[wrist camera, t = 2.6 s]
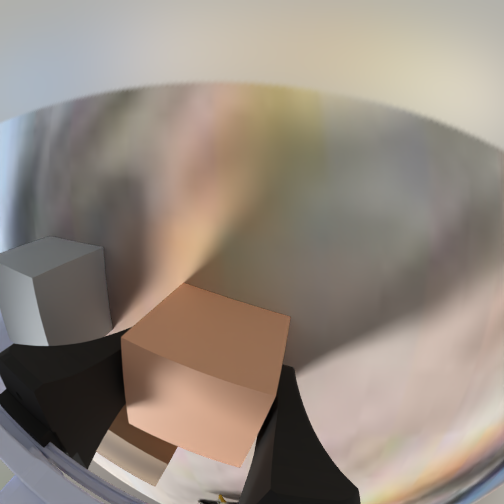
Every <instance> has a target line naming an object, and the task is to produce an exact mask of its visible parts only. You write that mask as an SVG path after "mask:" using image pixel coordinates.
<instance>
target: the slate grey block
mask: <svg viewBox="0 0 504 504" xmlns="http://www.w3.org/2000/svg"><path fill="white" fill-rule="evenodd" d="M0 310H1V314H2V317H3V320H4V324H5V327H6V330H7V333H8V336H9V339H10V340H11V341H12V342H14V343H15V344H23V345H33V346H58V345H68V344H76V343H82V342H87V341H91V340H95V339H99V338H102V337H104V336H105V335H107V334H108V333H109V332H110V331H111V330H113V328H112V322H111V315H110V308H109V300H108V292H107V283H106V272H105V260H104V247H101V246H96V245H91V244H86V243H81V242H76V241H71V240H66V239H62V238H57V237H52V236H49V237H46V238H42V239H39V240H36V241H33V242H30V243H28V244H25V245H22V246H19V247H16V248H13V249H10V250H8V251H5V252H2V253H0Z"/></svg>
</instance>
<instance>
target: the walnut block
mask: <svg viewBox="0 0 504 504" xmlns="http://www.w3.org/2000/svg"><path fill="white" fill-rule="evenodd" d="M177 447H178V446H176V445H173V444H171V443H169V442H166V441H164V440H162V439H160V438H158V437H155V436H153V435H151V434H149V433H147V432H145V431H143V430H141V429H139V428H137V427H135V426H133V425H131V424H129V421H128V414H127V406H126V404H125V405H124V406H123V408H122V409H121V410H120V412H119V414H118V415H117V417H116V418H115V420H114V421H113V423H112V424H111V426H110V428H109V429H108V431H107V433H106V434H105V436H104V438H103V440H102V442H101V443H100V445H99V447H98V449H97V451H96V452H98V453H99V454H100V455H102V456H103V457H105V458H106V459H108V460H109V461H111V462H112V463H114V464H116V465H117V466H119V467H120V468H122V469H124V470H125V471H127V472H129V473H131V474H132V475H134V476H136V477H138V478H139V479H141V480H143V481H145V482H147V483H149V484H151V485H153V486H156V484H157V483H158V481H159V479H160V478H161V476H162V474H163V472H164V471H165V469H166V467H167V465H168V463H169V462H170V460H171V458H172V456H173V454H174V452H175V451H176V449H177Z"/></svg>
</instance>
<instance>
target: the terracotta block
mask: <svg viewBox="0 0 504 504" xmlns="http://www.w3.org/2000/svg"><path fill="white" fill-rule="evenodd" d="M290 318H291V317H290V316H286V315H283V314H280V313H276V312H273V311H269V310H266V309H263V308H260V307H256V306H253V305H250V304H247V303H243V302H240V301H237V300H234V299H231V298H228V297H225V296H222V295H219V294H216V293H212V292H209V291H206V290H204V289H201V288H198V287H195V286H192V285H189V284H186V283H183V284H182V285H180V286H179V287H178V288H177V289H176V290H175V291H173V292H172V293H171V294H170V295H169V296H168V297H166V298H165V299H164V300H163V301H162V302H161V303H159V304H158V305H157V306H156V307H155V308H154V309H153V310H151V311H150V312H149V313H148V314H147V315H146V316H144V317H143V318H142V319H141V320H140V321H139V322H138V323H136V324H135V325H134V326H133V327H132V328H131V329H130V330H129V331H127V332H126V333H125V334H124V335H123V336H122V337H121V350H122V366H123V379H124V389H125V398H126V406H127V414H128V421H129V424H131V425H133V426H135V427H137V428H139V429H141V430H143V431H145V432H147V433H149V434H151V435H153V436H155V437H158V438H160V439H162V440H164V441H166V442H169V443H171V444H173V445H176V446H178V447H181V448H183V449H186V450H188V451H191V452H193V453H196V454H199V455H201V456H204V457H207V458H210V459H213V460H216V461H219V462H222V463H225V464H229V465H232V466H236V467H239V468H240V467H241V465H242V463H243V462H244V460H245V458H246V456H247V454H248V452H249V450H250V448H251V446H252V444H253V442H254V440H255V438H256V437H257V435H258V433H259V431H260V428H261V426H262V424H263V422H264V420H265V418H266V416H267V414H268V412H269V410H270V408H271V406H272V403H273V401H274V399H275V397H276V393H277V388H278V383H279V378H280V373H281V368H282V363H283V358H284V352H285V347H286V341H287V336H288V330H289V324H290Z"/></svg>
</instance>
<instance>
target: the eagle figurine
mask: <svg viewBox="0 0 504 504" xmlns="http://www.w3.org/2000/svg"><path fill="white" fill-rule="evenodd" d="M198 502H199V503H200V504H204V503H202V502H200V501H198ZM217 503H218V504H228V503H227V502H226V501H225V500H224V499H223V497H222V495H219V499H218V502H217Z"/></svg>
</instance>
